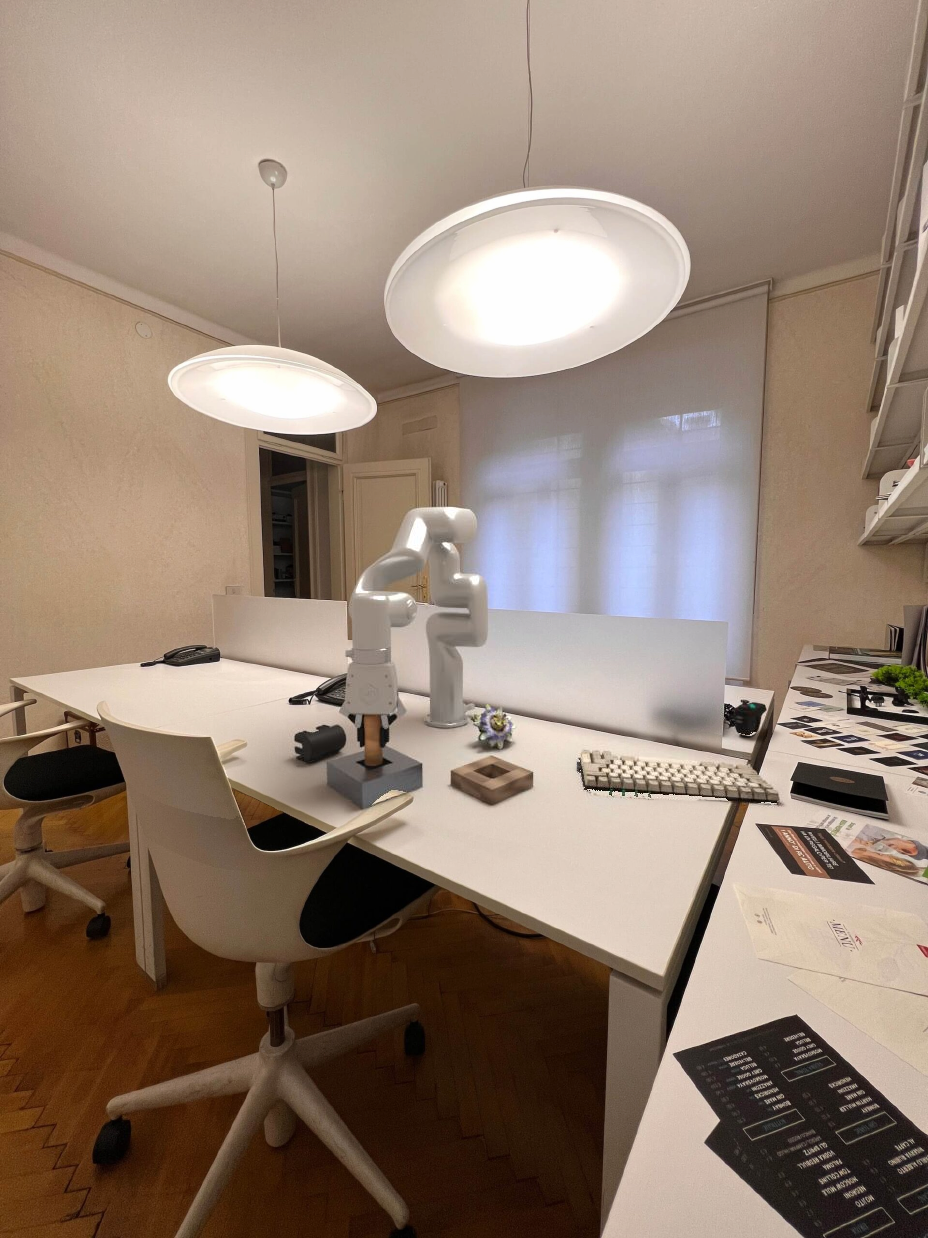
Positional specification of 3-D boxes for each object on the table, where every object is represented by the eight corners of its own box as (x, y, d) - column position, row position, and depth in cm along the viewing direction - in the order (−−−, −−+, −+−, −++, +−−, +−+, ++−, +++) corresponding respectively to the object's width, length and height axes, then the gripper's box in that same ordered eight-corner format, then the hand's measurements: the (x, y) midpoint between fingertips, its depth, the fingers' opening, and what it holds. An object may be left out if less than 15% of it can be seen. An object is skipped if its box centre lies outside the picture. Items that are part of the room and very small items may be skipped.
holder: (491, 768, 112) (491, 755, 111) (533, 786, 103) (533, 772, 102) (450, 784, 104) (450, 770, 103) (492, 805, 95) (492, 789, 94)
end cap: (312, 767, 112) (311, 738, 112) (293, 760, 116) (292, 732, 116) (347, 754, 120) (346, 726, 120) (328, 747, 124) (327, 721, 124)
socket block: (384, 766, 113) (384, 744, 112) (422, 786, 102) (422, 763, 102) (327, 784, 103) (326, 761, 103) (362, 809, 93) (362, 783, 92)
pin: (376, 757, 105) (375, 706, 103) (386, 762, 102) (385, 710, 101) (361, 762, 102) (360, 709, 101) (370, 767, 99) (369, 713, 98)
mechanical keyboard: (746, 770, 112) (747, 756, 112) (787, 813, 93) (788, 795, 93) (574, 761, 118) (574, 747, 117) (581, 799, 99) (581, 783, 99)
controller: (729, 737, 131) (731, 700, 130) (750, 728, 139) (752, 693, 137) (746, 742, 128) (749, 704, 127) (767, 732, 135) (769, 696, 134)
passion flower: (499, 769, 124) (484, 740, 117) (471, 749, 132) (455, 720, 125) (528, 737, 129) (515, 707, 122) (499, 720, 136) (485, 690, 130)
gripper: (324, 659, 96) (327, 751, 98) (410, 660, 96) (411, 753, 98) (336, 652, 104) (338, 738, 106) (416, 653, 103) (416, 739, 105)
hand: (373, 744), depth 102 cm, fingers closed on pin, 3 cm apart
